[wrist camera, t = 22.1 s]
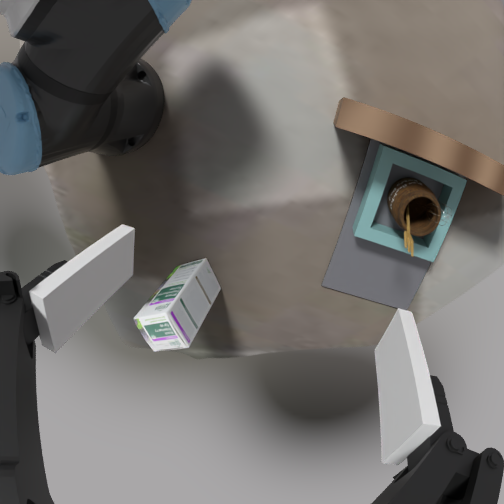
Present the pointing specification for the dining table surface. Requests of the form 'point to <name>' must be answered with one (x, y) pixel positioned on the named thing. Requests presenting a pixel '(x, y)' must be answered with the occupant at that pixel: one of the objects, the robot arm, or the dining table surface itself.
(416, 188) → the utensil holder
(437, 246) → the socket frame
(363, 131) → the backstop wall
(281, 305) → the dining table surface
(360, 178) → the grey flat plate
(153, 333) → the syrup box
